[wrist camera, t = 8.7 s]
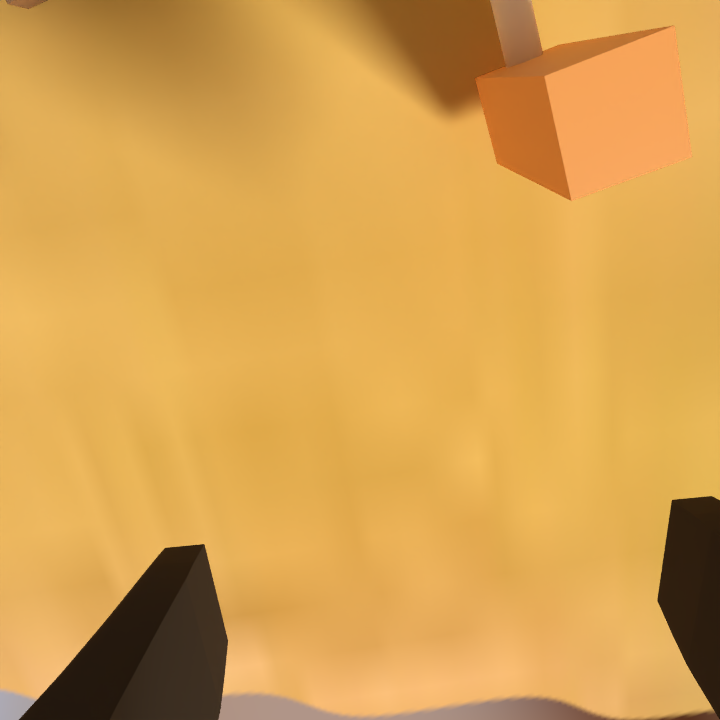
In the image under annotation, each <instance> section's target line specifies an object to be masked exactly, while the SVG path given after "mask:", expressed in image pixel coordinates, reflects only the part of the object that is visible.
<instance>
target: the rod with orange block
mask: <svg viewBox="0 0 720 720" xmlns="http://www.w3.org/2000/svg"><path fill="white" fill-rule="evenodd" d="M490 3H491V7H492V11H493V15H494V19H495V23H496V28H497V32H498V36H499V40H500V44H501V48H502V53H503V57H504V61H505V65H506V66H504V67H502V68H499V69H497V70H494V71H492V72H489V73H487V74H484V75H481V76H479V77H476V78H475V80H476V84H477V88H478V92H479V96H480V100H481V103H482V107H483V111H484V115H485V119H486V122H487V126H488V130H489V134H490V138H491V142H492V145H493V149H494V153H495V157H496V161H497V163H498V164H500V165H502V166H504V167H506V168H508V169H509V170H511V171H513V172H515V173H517V174H519V175H521V176H523V177H525V178H527V179H529V180H531V181H533V182H535V183H537V184H539V185H541V186H543V187H545V188H547V189H549V190H551V191H553V192H555V193H557V194H559V195H561V196H563V197H565V198H567V199H569V200H571V201H573V200H575V199H578V198H581V197H584V196H586V195H589V194H592V193H595V192H597V191H600V190H603V189H606V188H608V187H611V186H614V185H617V184H619V183H622V182H625V181H628V180H630V179H633V178H636V177H639V176H641V175H644V174H647V173H650V172H652V171H655V170H658V169H660V168H663V167H666V166H669V165H671V164H674V163H677V162H680V161H682V160H685V159H688V158H691V157H692V153H691V145H690V138H689V130H688V123H687V115H686V108H685V100H684V93H683V85H682V78H681V70H680V63H679V56H678V48H677V41H676V33H675V26H669V27H663V28H657V29H651V30H645V31H639V32H633V33H627V34H621V35H615V36H609V37H603V38H597V39H591V40H585V41H579V42H573V43H567V44H561V45H558V46H555V47H553V48H550V49H548V50H545V51H542V47H541V43H540V38H539V33H538V29H537V24H536V19H535V15H534V10H533V6H532V1H531V0H490Z"/></svg>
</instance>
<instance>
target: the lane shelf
mask: <svg viewBox="0 0 720 720" xmlns="http://www.w3.org/2000/svg"><path fill="white" fill-rule="evenodd" d="M45 1H47V0H6V2H7V4H10V5H14V6H19V7H23V8H27V9H29V8H31V7H34V6H36V5H38V4H40V3H43V2H45Z"/></svg>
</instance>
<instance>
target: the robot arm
mask: <svg viewBox="0 0 720 720" xmlns="http://www.w3.org/2000/svg"><path fill="white" fill-rule="evenodd" d="M657 601H658V603H659V605H660V607H661V610H662V612H663V614H664V617H665V619H666V621H667V623H668V626H669V628H670V630H671V632H672V635H673V637H674V639H675V641H676V643H677V645H678V647H679V649H680V651H681V653H682V656H683V658H684V660H685V662H686V664H687V666H688V668H689V669H690V671H691V673H692V674H693V676H694V678H695V679H696V681H697V683H698V684H699V686H700V688H701V689H702V691H703V693H704V694H705V696H706V698H707V699H708V701H709V703H710V704H711V706H712V708H713V709H714V711H715V713H716V714H717V716H718V717H719V719H720V500H718V499H716V498H714V497H712V496H709V497H698V498H688V499H677V500H672V503H671V510H670V517H669V524H668V531H667V538H666V545H665V552H664V559H663V565H662V572H661V579H660V586H659V593H658V600H657ZM227 646H228V639H227V635H226V631H225V627H224V623H223V618H222V614H221V610H220V606H219V602H218V598H217V594H216V590H215V586H214V582H213V578H212V574H211V569H210V565H209V561H208V557H207V553H206V549H205V545H204V544H202V545H191V546H181V547H170V548H165V549H164V550H163V551H162V552H161V553H160V554H159V556H158V557H157V558H156V559H155V560H154V562H153V563H152V564H151V565H150V566H149V568H148V569H147V570H146V571H145V573H144V574H143V575H142V576H141V578H140V579H139V580H138V581H137V583H136V584H135V585H134V586H133V588H132V589H131V590H130V591H129V593H128V594H127V595H126V596H125V598H124V599H123V600H122V601H121V602H120V604H119V605H118V606H117V607H116V609H115V610H114V611H113V612H112V614H111V615H110V616H109V617H108V618H107V620H106V621H105V622H104V623H103V625H102V626H101V627H100V628H99V629H98V630H97V632H96V633H95V634H94V635H93V636H92V638H91V639H90V640H89V641H88V642H87V644H86V645H85V646H84V647H83V648H82V649H81V651H80V652H79V653H78V654H77V655H76V657H75V658H74V659H73V660H72V661H71V662H70V664H69V665H68V666H67V667H66V668H65V669H64V671H63V672H62V673H61V674H60V675H59V676H58V677H57V679H56V680H55V681H54V682H53V683H52V684H51V685H50V686H49V687H48V688H47V690H46V691H45V692H44V693H43V694H42V695H41V696H40V697H39V698H38V699H37V701H36V702H35V703H34V704H33V705H32V706H31V707H30V708H29V709H28V710H27V711H26V713H25V714H24V715H23V716H22V717H21V718H20V719H19V720H218V718H219V714H220V709H221V701H222V692H223V684H224V675H225V665H226V655H227Z"/></svg>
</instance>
